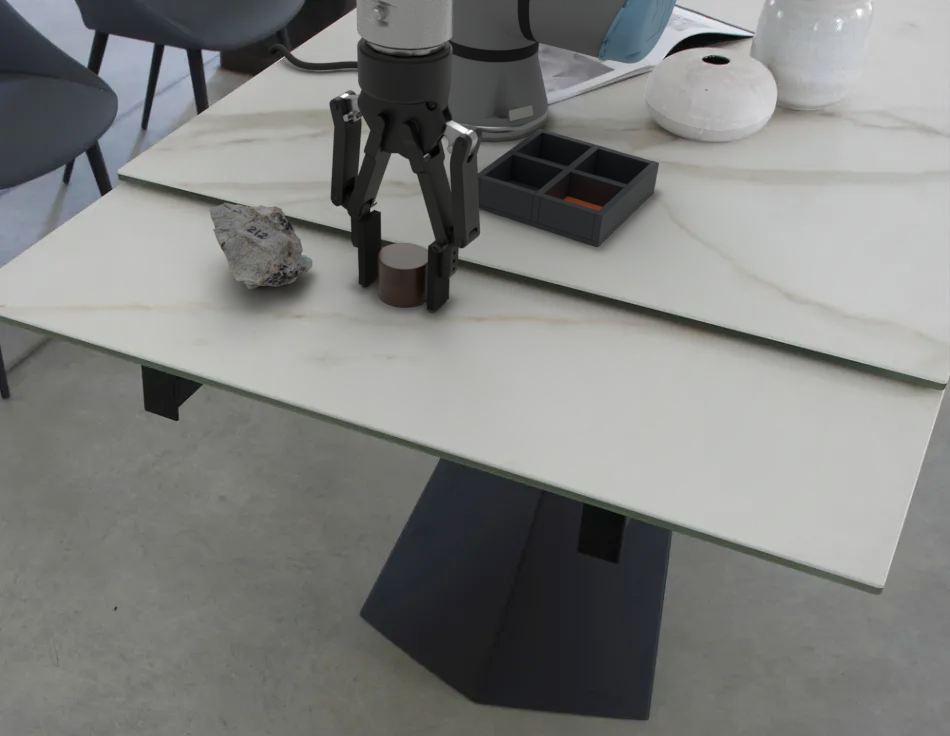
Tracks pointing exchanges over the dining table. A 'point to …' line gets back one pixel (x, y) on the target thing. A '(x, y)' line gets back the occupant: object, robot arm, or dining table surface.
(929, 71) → the dining table surface
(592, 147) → the grid
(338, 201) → the robot arm
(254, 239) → the mineral specimen
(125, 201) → the dining table surface
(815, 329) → the dining table surface
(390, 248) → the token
